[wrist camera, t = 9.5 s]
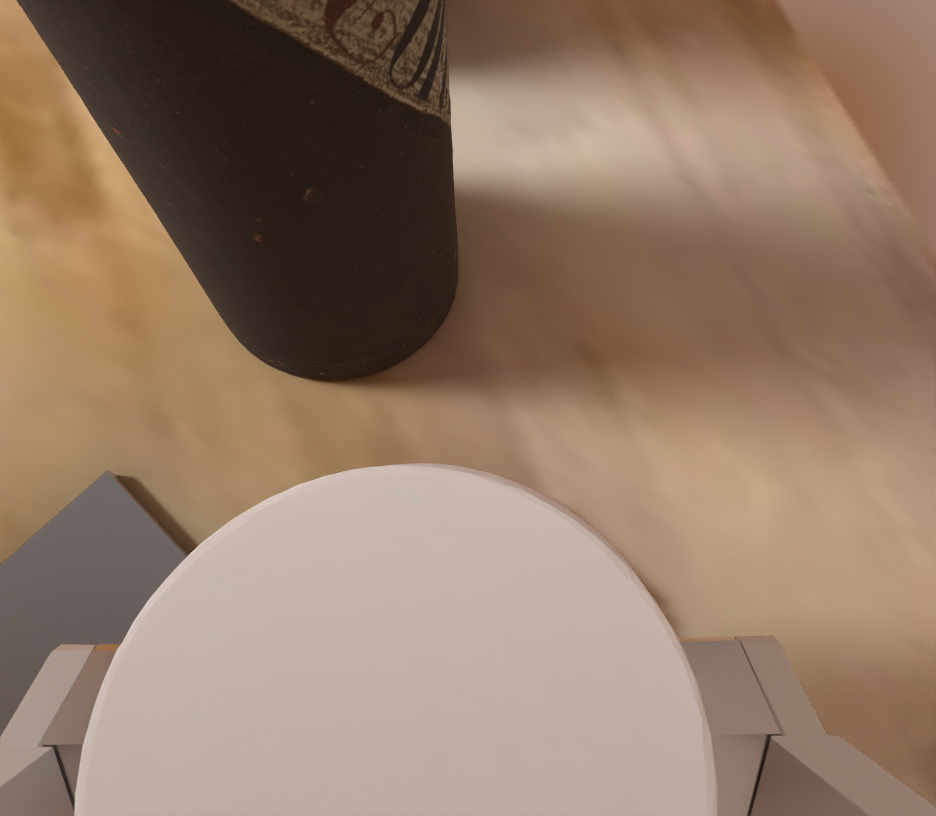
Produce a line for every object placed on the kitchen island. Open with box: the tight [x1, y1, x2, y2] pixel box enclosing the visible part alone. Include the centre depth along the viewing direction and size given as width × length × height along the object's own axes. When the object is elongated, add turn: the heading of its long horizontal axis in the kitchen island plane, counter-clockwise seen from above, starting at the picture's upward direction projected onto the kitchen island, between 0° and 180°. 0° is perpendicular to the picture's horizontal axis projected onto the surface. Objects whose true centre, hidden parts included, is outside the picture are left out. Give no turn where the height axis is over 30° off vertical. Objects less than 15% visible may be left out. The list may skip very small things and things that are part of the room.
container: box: [17, 0, 458, 380], centre depth 20 cm, size 9×9×20 cm
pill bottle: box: [74, 463, 718, 816], centre depth 11 cm, size 6×6×11 cm
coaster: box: [0, 471, 188, 737], centre depth 24 cm, size 10×10×1 cm
